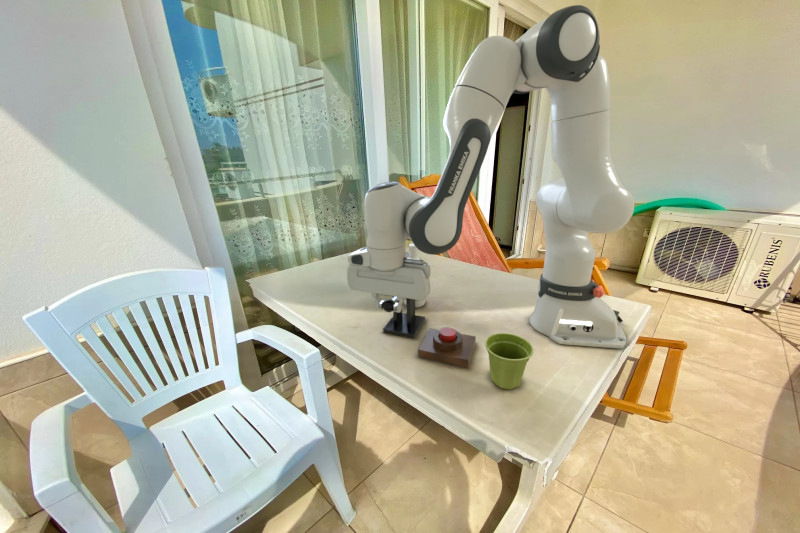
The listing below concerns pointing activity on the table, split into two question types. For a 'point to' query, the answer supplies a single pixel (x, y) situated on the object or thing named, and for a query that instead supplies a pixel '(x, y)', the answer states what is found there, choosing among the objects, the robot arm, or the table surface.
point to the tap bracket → (405, 321)
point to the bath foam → (414, 255)
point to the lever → (389, 304)
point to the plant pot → (507, 358)
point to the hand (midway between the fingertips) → (388, 309)
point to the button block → (447, 348)
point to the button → (447, 334)
